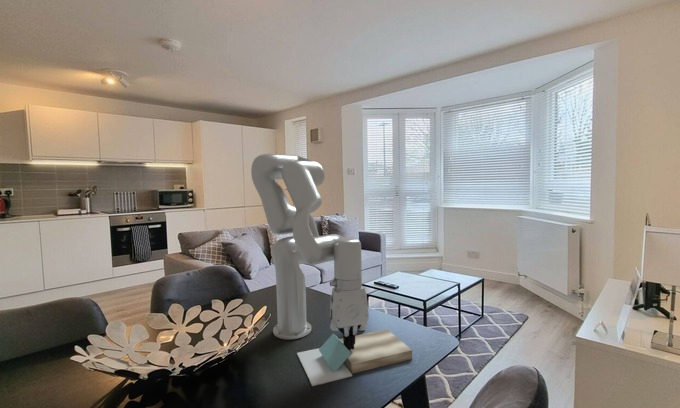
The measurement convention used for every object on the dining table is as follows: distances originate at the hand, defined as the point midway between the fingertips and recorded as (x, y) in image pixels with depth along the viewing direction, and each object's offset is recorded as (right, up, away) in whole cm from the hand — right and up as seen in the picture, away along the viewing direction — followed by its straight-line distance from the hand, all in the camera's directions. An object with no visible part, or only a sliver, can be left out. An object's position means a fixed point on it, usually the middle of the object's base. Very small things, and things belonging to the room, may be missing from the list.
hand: (349, 347), depth 91 cm
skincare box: (+4, -2, +20) cm, 21 cm away
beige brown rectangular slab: (+7, -3, +3) cm, 8 cm away
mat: (-7, -4, -3) cm, 8 cm away
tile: (-4, 0, -2) cm, 5 cm away
